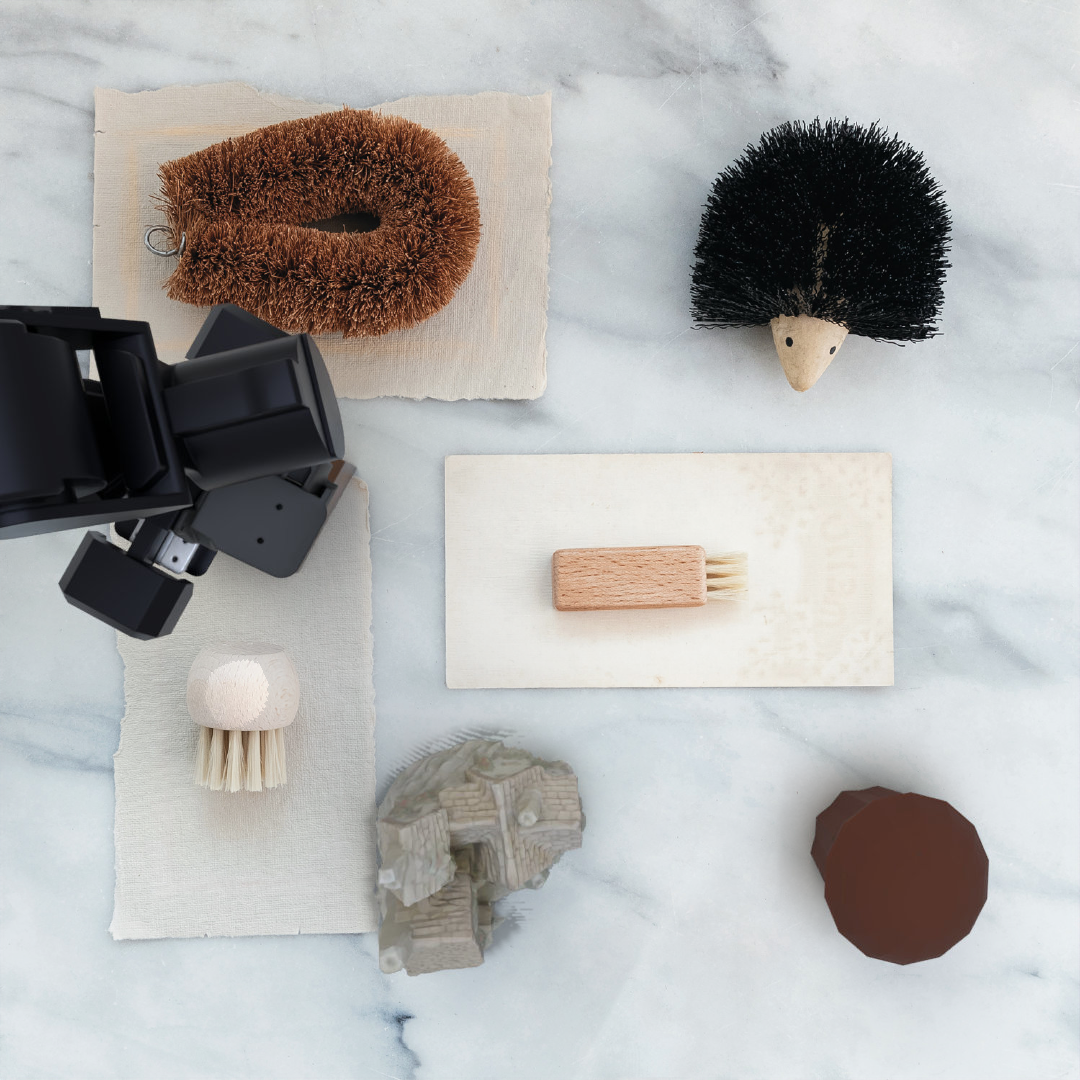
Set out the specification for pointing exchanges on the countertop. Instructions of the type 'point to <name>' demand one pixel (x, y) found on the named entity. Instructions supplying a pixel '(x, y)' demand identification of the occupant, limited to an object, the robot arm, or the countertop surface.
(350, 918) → the countertop surface
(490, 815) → the ceramic cottage
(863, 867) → the brown faceted knob
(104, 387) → the robot arm
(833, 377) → the countertop surface
